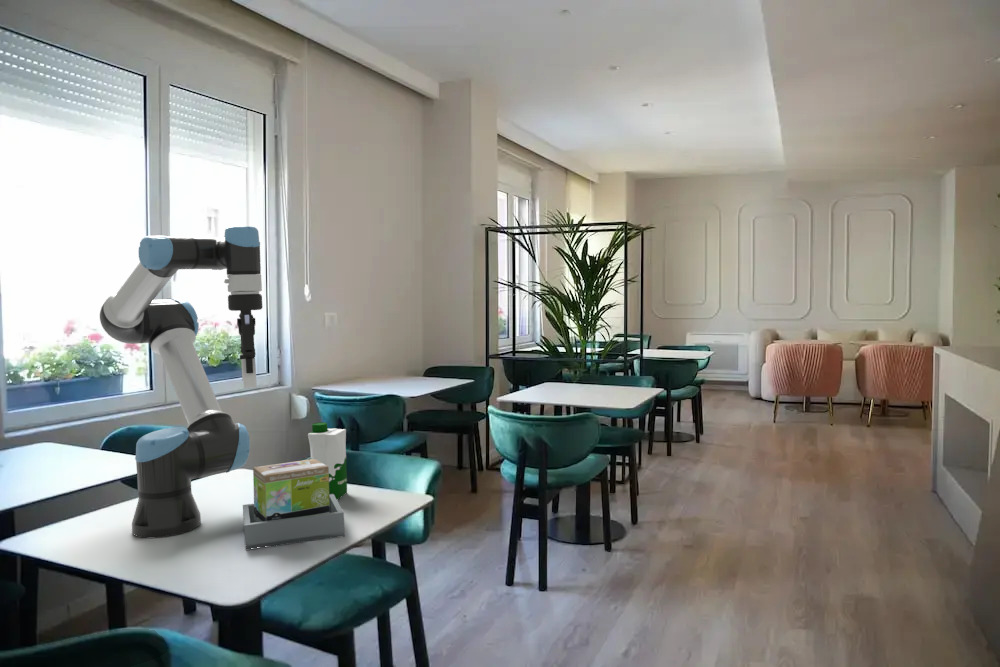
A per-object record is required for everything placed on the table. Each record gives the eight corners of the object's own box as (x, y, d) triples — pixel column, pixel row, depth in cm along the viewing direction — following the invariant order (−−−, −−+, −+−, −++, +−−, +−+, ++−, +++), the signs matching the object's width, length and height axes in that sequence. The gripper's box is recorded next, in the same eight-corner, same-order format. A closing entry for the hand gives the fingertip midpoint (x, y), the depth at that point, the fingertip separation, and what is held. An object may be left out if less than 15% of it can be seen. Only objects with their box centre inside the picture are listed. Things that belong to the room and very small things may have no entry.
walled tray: (243, 527, 177) (242, 504, 177) (334, 515, 184) (333, 493, 184) (245, 550, 162) (244, 525, 161) (344, 536, 169) (343, 512, 169)
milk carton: (321, 491, 207) (318, 420, 205) (352, 492, 205) (349, 421, 204) (307, 500, 198) (304, 426, 197) (338, 501, 196) (335, 427, 195)
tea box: (266, 540, 164) (263, 475, 163) (254, 528, 173) (251, 466, 172) (331, 526, 173) (329, 464, 172) (316, 516, 181) (314, 456, 180)
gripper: (227, 293, 182) (231, 378, 184) (228, 294, 159) (232, 391, 160) (259, 292, 185) (263, 376, 186) (264, 293, 162) (269, 389, 163)
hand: (249, 384), depth 173 cm, fingers open, 13 cm apart
